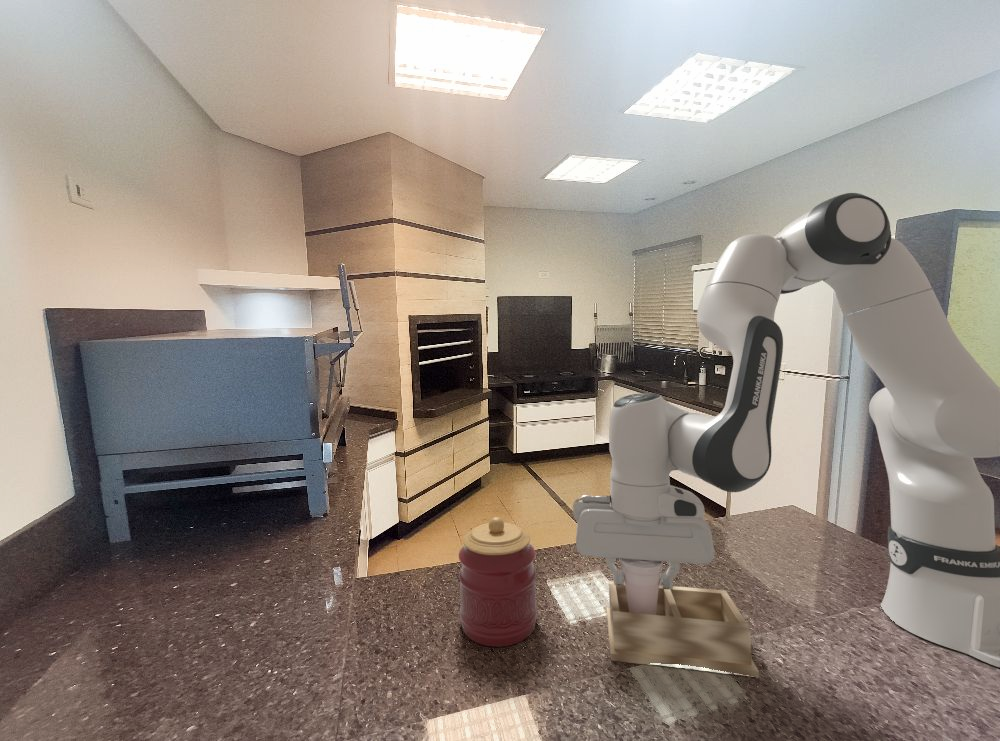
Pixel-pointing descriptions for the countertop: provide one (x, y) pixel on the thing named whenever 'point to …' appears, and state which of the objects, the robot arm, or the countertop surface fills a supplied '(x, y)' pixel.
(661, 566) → the smoothie
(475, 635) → the canister
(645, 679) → the countertop surface
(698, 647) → the wooden divided tray
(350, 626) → the countertop surface
